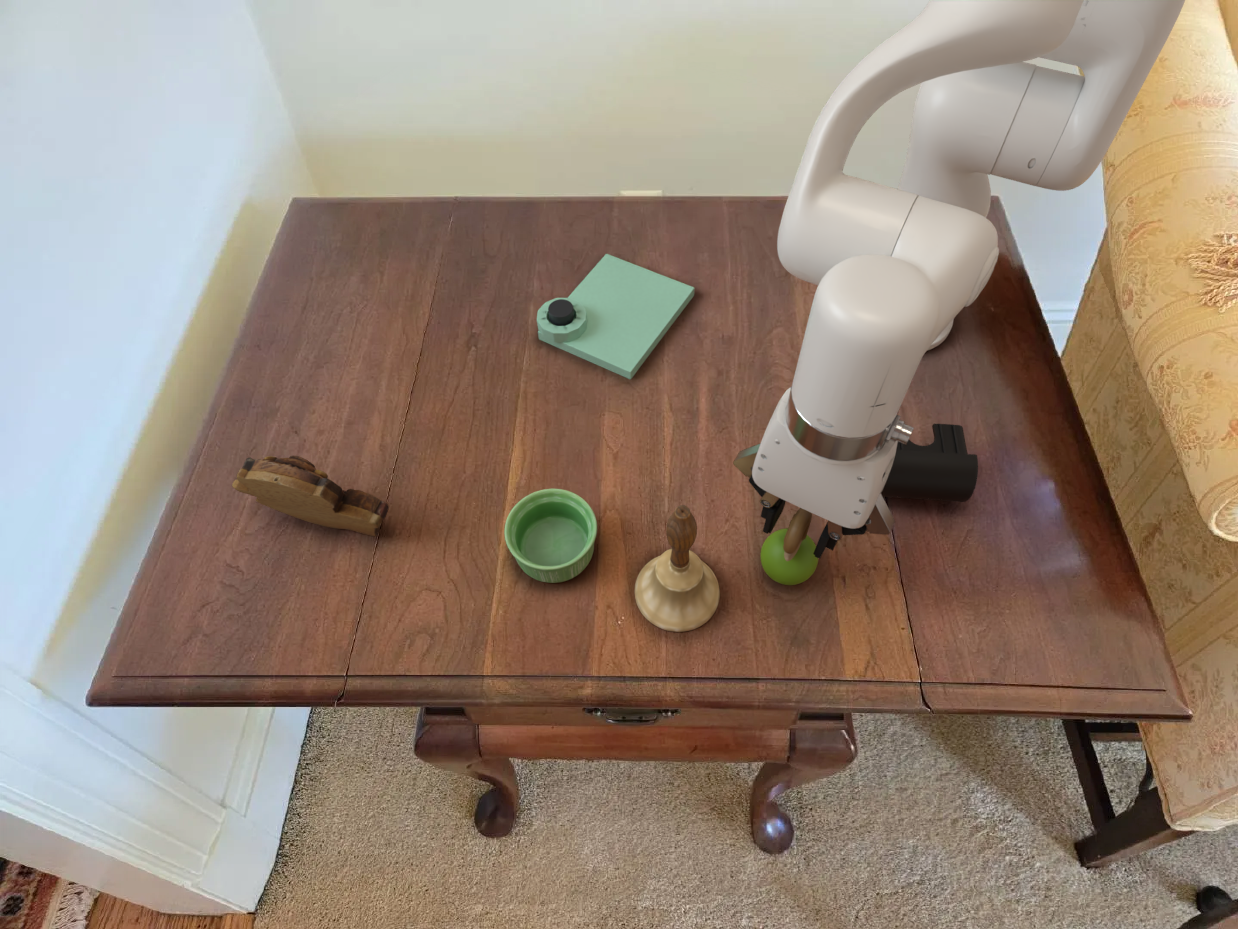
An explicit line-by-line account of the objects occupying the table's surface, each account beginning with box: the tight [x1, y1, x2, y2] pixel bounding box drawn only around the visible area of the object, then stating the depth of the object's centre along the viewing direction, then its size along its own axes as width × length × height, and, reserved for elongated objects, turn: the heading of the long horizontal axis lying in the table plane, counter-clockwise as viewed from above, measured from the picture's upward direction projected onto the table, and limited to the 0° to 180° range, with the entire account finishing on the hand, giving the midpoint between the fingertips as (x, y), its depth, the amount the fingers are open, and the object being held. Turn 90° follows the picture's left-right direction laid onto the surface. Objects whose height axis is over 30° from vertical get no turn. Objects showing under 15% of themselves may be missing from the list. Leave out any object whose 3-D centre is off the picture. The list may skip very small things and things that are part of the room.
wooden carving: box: [231, 455, 390, 537], centre depth 77 cm, size 16×5×10 cm, turn 78°
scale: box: [536, 253, 695, 380], centre depth 95 cm, size 16×14×3 cm
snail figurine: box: [760, 507, 819, 586], centre depth 72 cm, size 5×6×12 cm
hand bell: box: [634, 504, 721, 633], centre depth 69 cm, size 8×8×16 cm
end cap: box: [881, 423, 979, 503], centre depth 79 cm, size 10×7×7 cm
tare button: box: [548, 299, 574, 326], centre depth 93 cm, size 3×3×2 cm
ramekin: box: [503, 488, 598, 584], centre depth 77 cm, size 9×9×4 cm
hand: (797, 532), depth 71 cm, fingers open, 4 cm apart
